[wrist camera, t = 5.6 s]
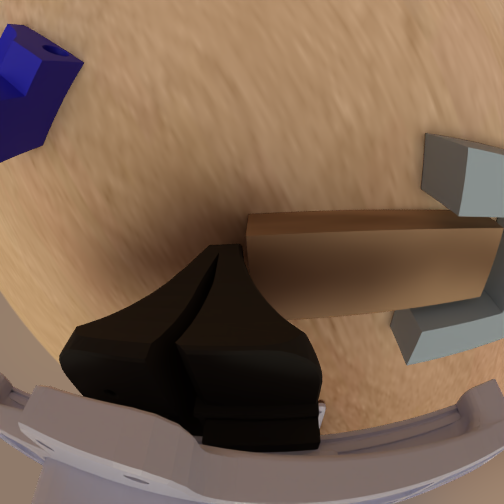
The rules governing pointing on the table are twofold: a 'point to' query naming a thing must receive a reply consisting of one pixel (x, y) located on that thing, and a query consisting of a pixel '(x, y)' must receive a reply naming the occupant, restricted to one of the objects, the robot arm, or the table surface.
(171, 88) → the table surface
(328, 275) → the slat
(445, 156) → the end cap
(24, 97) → the cable clip
